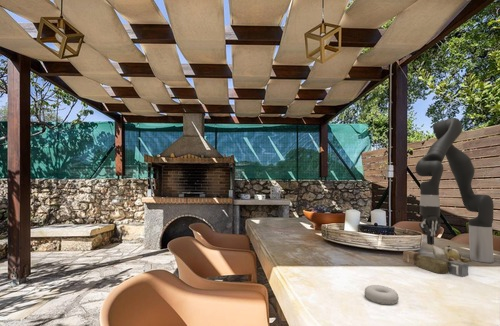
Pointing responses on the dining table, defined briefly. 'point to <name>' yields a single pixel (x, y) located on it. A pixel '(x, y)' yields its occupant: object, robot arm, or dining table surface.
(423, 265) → the stone block
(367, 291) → the donut
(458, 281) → the dining table surface
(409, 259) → the cardboard box
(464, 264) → the charcoal block
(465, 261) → the ceramic sculpture
